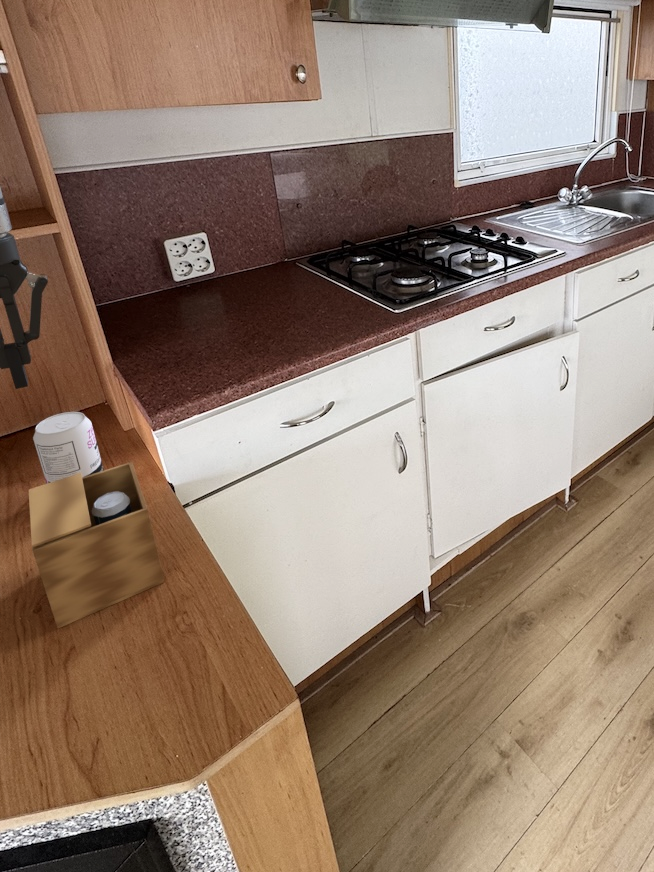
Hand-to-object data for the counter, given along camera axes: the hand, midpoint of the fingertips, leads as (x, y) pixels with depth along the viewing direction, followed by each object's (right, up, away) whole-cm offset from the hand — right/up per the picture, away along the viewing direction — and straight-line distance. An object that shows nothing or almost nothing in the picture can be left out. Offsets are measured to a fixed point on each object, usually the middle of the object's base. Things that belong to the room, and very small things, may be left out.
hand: (21, 384), depth 90 cm
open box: (+14, -29, -2) cm, 32 cm away
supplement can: (-2, -22, +15) cm, 27 cm away
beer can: (+16, -28, 0) cm, 32 cm away
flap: (+12, -16, -8) cm, 22 cm away
